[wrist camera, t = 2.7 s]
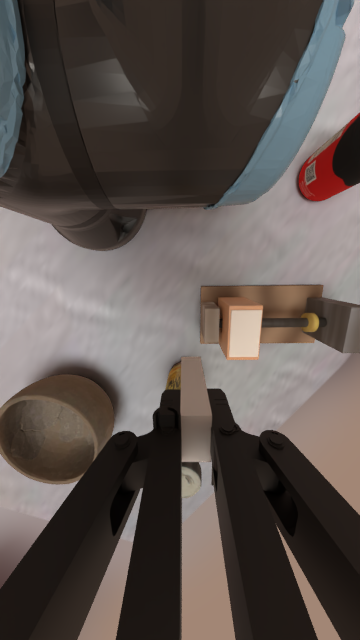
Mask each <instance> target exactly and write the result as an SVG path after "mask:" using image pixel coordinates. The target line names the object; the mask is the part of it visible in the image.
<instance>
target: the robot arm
mask: <svg viewBox="0 0 360 640" xmlns="http://www.w3.org/2000/svg"><path fill="white" fill-rule="evenodd" d="M353 5H354V0H0V206H1V207H4V208H7V209H9V210H12V211H15V212H18V213H21V214H24V215H27V216H30V217H33V218H36V219H39V220H42V221H44V222H47V223H51V224H52V226H53V227H54V228H55V229H56V230H57V231H58V232H59V233H60V234H61V235H62V236H63V237H64V238H66V239H67V240H69V241H70V242H72V243H74V244H76V245H78V246H80V247H83V248H87V249H91V250H97V251H108V250H113V249H116V248H119V247H121V246H123V245H124V244H126V243H127V242H129V241H130V240H131V239H132V238H133V237H134V236H135V235H136V233H137V232H138V230H139V229H140V227H141V225H142V223H143V220H144V217H145V213H146V209H162V208H199V207H203V208H204V209H206V210H211V209H215V208H217V207H219V206H229V205H242V204H247V203H250V202H253V201H255V200H256V199H258V198H259V197H260V196H262V195H263V194H265V193H266V192H268V191H269V190H270V189H271V188H272V187H273V186H274V185H275V183H276V182H277V181H278V180H279V179H280V178H281V176H282V175H283V174H284V172H285V171H286V170H287V168H288V167H289V165H290V164H291V162H292V161H293V159H294V157H295V156H296V154H297V152H298V151H299V149H300V147H301V145H302V143H303V142H304V140H305V138H306V136H307V134H308V132H309V130H310V128H311V126H312V124H313V122H314V120H315V118H316V116H317V114H318V111H319V109H320V107H321V104H322V102H323V100H324V98H325V95H326V93H327V90H328V88H329V85H330V83H331V80H332V77H333V75H334V72H335V69H336V66H337V63H338V60H339V57H340V54H341V50H342V47H343V44H344V41H345V32H344V30H343V29H342V27H343V25H344V23H345V21H346V19H347V17H348V15H349V13H350V11H351V9H352V7H353ZM153 427H154V429H153V430H152V431H151V432H149V433H148V434H145V435H142V436H139V437H136V435H135V434H134V433H132V432H130V431H122V432H118V433H117V434H115V435H113V436H112V437H111V438H110V439H109V440H108V442H107V443H106V444H105V446H104V447H103V449H102V450H101V451H100V453H99V454H98V455H97V457H96V458H95V460H94V461H93V462H92V464H91V465H90V466H89V468H88V469H87V471H86V472H85V473H84V475H83V476H82V477H81V479H80V480H79V482H78V483H77V484H76V486H75V487H74V488H73V490H72V491H71V493H70V494H69V495H68V497H67V498H66V499H65V501H64V502H63V504H62V505H61V506H60V508H59V509H58V510H57V512H56V513H55V515H54V516H53V517H52V519H51V520H50V521H49V523H48V524H47V526H46V527H45V528H44V530H43V531H42V533H41V534H40V535H39V537H38V538H37V539H36V541H35V542H34V543H33V545H32V547H31V548H30V549H29V550H28V552H27V553H26V555H25V556H24V557H23V559H22V560H21V561H20V563H19V564H18V565H17V567H16V568H15V570H14V571H13V572H12V574H11V575H10V576H9V578H8V579H7V581H6V582H5V583H4V585H3V586H2V587H1V589H0V640H77V639H78V636H79V634H80V632H81V629H82V627H83V625H84V622H85V620H86V617H87V615H88V613H89V610H90V608H91V606H92V603H93V601H94V598H95V596H96V593H97V591H98V589H99V586H100V584H101V582H102V579H103V577H104V575H105V572H106V570H107V567H108V565H109V563H110V560H111V558H112V556H113V553H114V551H115V548H116V546H117V544H118V541H119V539H120V536H121V534H122V532H123V529H124V527H125V525H126V522H127V520H128V517H129V515H130V513H131V510H132V508H133V506H134V503H135V501H136V498H137V496H138V494H139V491H140V488H143V492H142V497H141V503H140V508H139V514H138V519H137V525H136V530H135V536H134V542H133V548H132V553H131V558H130V564H129V569H128V575H127V581H126V586H125V592H124V597H123V604H122V608H121V614H120V619H119V625H118V630H117V636H116V640H181V613H182V609H181V607H182V604H181V603H182V602H181V601H182V592H181V591H182V462H211V459H212V485H214V491H215V498H216V505H217V512H218V518H219V526H220V533H221V540H222V547H223V554H224V561H225V569H226V575H227V582H228V590H229V596H230V604H231V611H232V618H233V624H234V632H235V638H236V640H318V639H317V636H316V633H315V631H314V628H313V625H312V622H311V620H310V617H309V614H308V611H307V608H306V606H305V603H304V600H303V597H302V595H301V592H300V589H299V587H298V584H297V581H296V578H295V576H294V573H293V570H292V568H291V565H290V562H289V559H288V556H287V554H286V551H285V548H284V546H283V543H282V540H281V537H280V535H279V532H278V529H277V527H278V528H279V530H280V532H281V534H282V536H283V537H284V539H285V541H286V543H287V544H288V546H289V548H290V550H291V551H292V553H293V555H294V557H295V559H296V560H297V562H298V564H299V566H300V568H301V569H302V571H303V573H304V575H305V576H306V578H307V580H308V582H309V583H310V585H311V587H312V589H313V590H314V592H315V594H316V596H317V598H318V599H319V601H320V603H321V605H322V606H323V608H324V610H325V612H326V614H327V615H328V617H329V619H330V620H331V622H332V624H333V626H334V628H335V629H336V631H337V633H338V635H339V637H340V638H341V640H360V515H359V514H358V513H357V512H356V511H355V510H354V509H353V508H352V507H351V506H350V505H349V503H348V502H347V501H346V500H345V499H344V498H343V497H342V496H341V495H340V494H339V493H338V492H337V490H335V488H334V487H333V486H332V485H331V484H330V483H329V482H328V481H327V480H326V479H325V478H324V476H323V475H322V474H321V473H320V472H319V471H318V470H317V469H316V468H315V467H314V466H313V465H312V463H311V462H309V460H308V459H307V458H306V457H305V456H304V455H303V454H302V453H301V452H300V451H299V449H298V448H297V447H296V446H295V445H294V444H293V443H292V442H291V441H290V440H289V439H288V438H287V437H286V436H285V435H283V434H281V433H279V432H277V431H273V430H266V431H264V432H262V433H261V435H260V437H259V436H255V435H251V434H248V433H246V432H244V431H242V430H241V428H240V427H239V425H238V424H236V423H235V421H234V418H233V416H232V413H231V410H230V407H229V405H228V401H227V398H226V395H225V393H224V392H223V391H222V390H221V389H207V388H206V383H205V378H204V373H203V368H202V363H201V358H200V357H181V389H166V390H165V391H164V392H163V393H162V396H161V402H160V408H158V409H157V410H156V411H155V412H154V414H153ZM275 523H276V524H275ZM276 525H277V526H276Z"/></svg>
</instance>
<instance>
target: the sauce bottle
mask: <svg viewBox="0 0 360 640" xmlns="http://www.w3.org/2000/svg"><path fill="white" fill-rule="evenodd" d="M166 389H181V362H180V363H177V364H176V365H174V366H173V368H172V369H171V371H170V373H169V375H168V380H167V385H166ZM166 389H165V390H166ZM200 487H201V467H200V465H199V462H182V498H188V497H191V496H193V495H194V494H195V493H197V492H198V491H199V489H200Z"/></svg>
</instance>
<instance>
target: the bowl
mask: <svg viewBox="0 0 360 640" xmlns="http://www.w3.org/2000/svg"><path fill="white" fill-rule="evenodd" d="M113 428H114V411H113V406H112V403H111V401H110V399H109V397H108V396H107V394H106V393H105V391H104V390H103V389H102V388H101V387H100V386H99V385H97V384H96V383H95V382H93V381H92V380H90V379H88V378H85V377H81V376H78V375H68V374H65V375H56V376H51V377H48V378H45V379H42V380H39V381H37V382H35V383H33V384H31V385H29V386H27V387H26V388H24V389H22V390H21V391H20V392H18V393H17V394H15V395H14V396H13V397H12V398H10V399H9V400H8V401H7V402H6V403H5V404H4V405H3V406H2V407H1V408H0V454H1V455H2V457H3V458H4V459H5V460H6V462H7V463H8V464H10V465H11V466H12V467H13V468H14V469H15V470H17V471H18V472H20V473H21V474H23V475H24V476H26V477H28V478H30V479H33V480H36V481H39V482H43V483H48V484H69V483H73V482H75V481H78V480H80V479H81V477H82V476H83V475H84V473H85V472H86V471H87V469H88V468H89V466H90V465H91V464H92V462H93V461H94V460H95V458H96V457H97V455H98V454H99V453H100V451H101V450H102V449H103V447H104V446H105V444H106V443H107V442H108V440H109V439H110V438H111V436H112V432H113Z"/></svg>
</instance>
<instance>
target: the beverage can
mask: <svg viewBox="0 0 360 640" xmlns="http://www.w3.org/2000/svg"><path fill="white" fill-rule="evenodd" d="M358 183H360V113H359V114H358V115H357V116H355V117H354V118H353V119H352V120H351V121H350V122H349V123H348V124H346V125H345V126H344V127H343V128H342V129H341V130H340V131H339V132H337V133H336V134H335V135H334V136H333V137H332V138H331V139H330V140H328V141H327V142H326V143H325V144H324V145H323V146H322V147H321V148H319V149H318V150H317V151H316V152H315V153H314V154H313V155H312V156H310V157H309V158H308V159H307V161H306V162H305V163H304V165H303V167H302V169H301V171H300V174H299V187H300V190H301V192H302V194H303V195H304V196H305V197H306V198H308V199H310V200H312V201H322V200H325V199H328V198H330V197H332V196H334V195H336V194H338V193H340V192H342V191H344V190H346V189H348V188H350V187H352V186H354V185H356V184H358Z"/></svg>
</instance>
